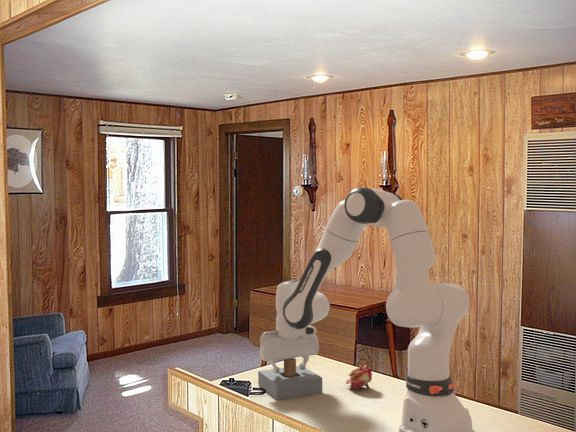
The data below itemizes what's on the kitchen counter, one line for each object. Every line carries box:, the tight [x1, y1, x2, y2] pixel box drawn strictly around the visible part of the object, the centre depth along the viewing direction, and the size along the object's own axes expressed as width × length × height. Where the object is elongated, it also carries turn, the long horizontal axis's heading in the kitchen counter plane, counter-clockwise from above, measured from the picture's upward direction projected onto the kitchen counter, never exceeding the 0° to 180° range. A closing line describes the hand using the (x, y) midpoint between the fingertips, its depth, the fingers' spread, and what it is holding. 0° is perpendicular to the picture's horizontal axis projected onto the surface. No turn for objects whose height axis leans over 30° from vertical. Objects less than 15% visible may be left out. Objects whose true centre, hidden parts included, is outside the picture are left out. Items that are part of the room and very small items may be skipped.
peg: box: [283, 358, 297, 378], centre depth 196 cm, size 4×4×10 cm
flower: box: [345, 364, 373, 390], centre depth 196 cm, size 10×9×8 cm
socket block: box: [257, 365, 323, 401], centre depth 196 cm, size 16×16×5 cm
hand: (289, 371), depth 195 cm, fingers open, 8 cm apart
